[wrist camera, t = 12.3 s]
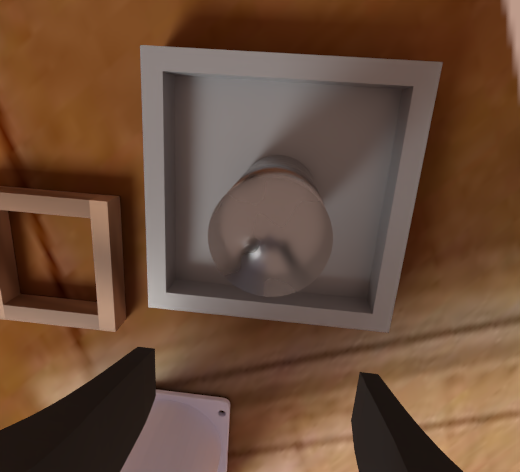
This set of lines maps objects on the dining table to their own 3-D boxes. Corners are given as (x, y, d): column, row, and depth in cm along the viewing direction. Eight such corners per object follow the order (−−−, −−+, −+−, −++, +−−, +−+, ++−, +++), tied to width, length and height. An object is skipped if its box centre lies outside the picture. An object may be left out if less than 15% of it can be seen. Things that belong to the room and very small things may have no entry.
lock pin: (312, 232, 20) (326, 301, 12) (238, 227, 20) (207, 291, 12) (319, 157, 19) (340, 181, 11) (241, 152, 19) (208, 172, 11)
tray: (378, 309, 22) (388, 332, 19) (163, 287, 23) (148, 307, 20) (423, 69, 18) (442, 62, 15) (159, 54, 19) (140, 44, 16)
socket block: (126, 318, 24) (115, 331, 22) (8, 305, 24) (-10, 317, 23) (119, 196, 21) (107, 201, 20) (-12, 184, 22) (-34, 189, 20)
